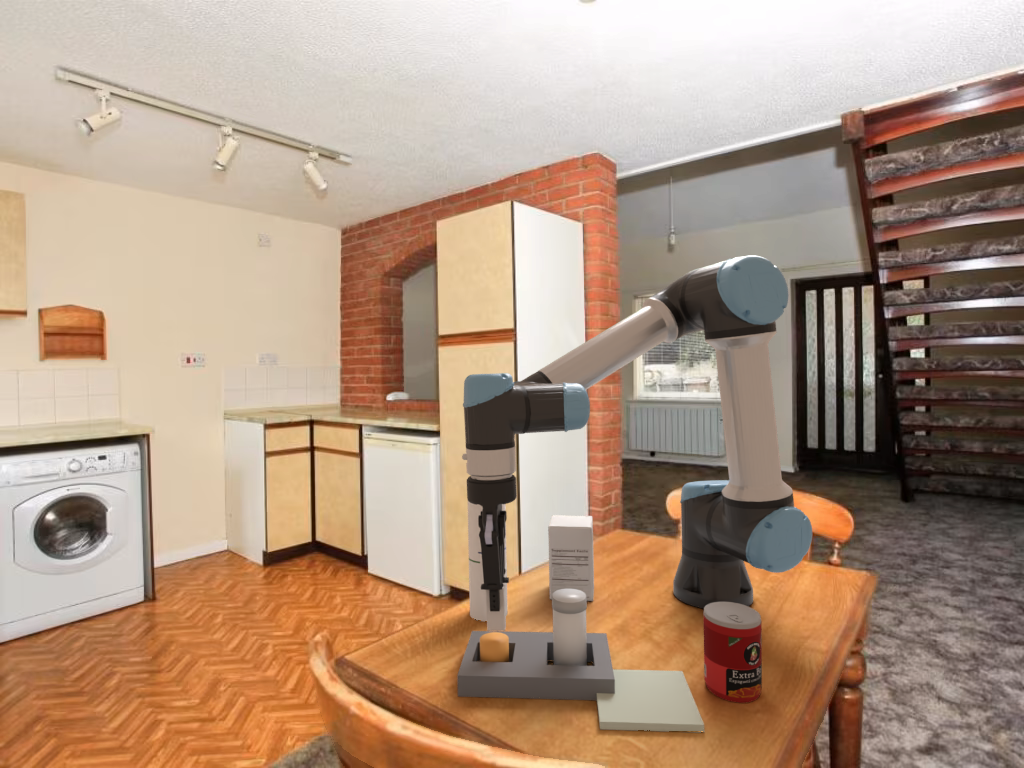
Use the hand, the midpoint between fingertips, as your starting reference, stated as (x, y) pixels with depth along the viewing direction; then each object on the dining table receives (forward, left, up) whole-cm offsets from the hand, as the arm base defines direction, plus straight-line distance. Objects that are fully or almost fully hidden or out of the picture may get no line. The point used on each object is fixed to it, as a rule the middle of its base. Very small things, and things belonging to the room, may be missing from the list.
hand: (496, 628), depth 88 cm
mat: (-21, +7, -7) cm, 23 cm away
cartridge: (-11, 0, -7) cm, 13 cm away
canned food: (-34, +3, -7) cm, 35 cm away
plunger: (0, 0, -6) cm, 6 cm away
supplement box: (-12, -32, -7) cm, 35 cm away
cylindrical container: (+4, -21, -7) cm, 22 cm away
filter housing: (-6, 0, -7) cm, 9 cm away
